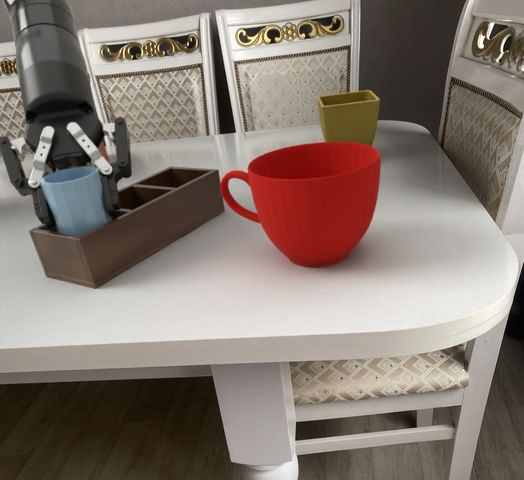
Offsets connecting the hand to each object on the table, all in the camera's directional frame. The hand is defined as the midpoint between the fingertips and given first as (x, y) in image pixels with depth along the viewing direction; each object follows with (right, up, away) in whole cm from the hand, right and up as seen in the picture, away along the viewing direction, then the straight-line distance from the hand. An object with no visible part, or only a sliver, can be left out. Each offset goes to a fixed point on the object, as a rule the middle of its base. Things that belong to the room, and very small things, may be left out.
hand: (80, 218), depth 56 cm
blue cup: (0, -3, +4) cm, 5 cm away
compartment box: (+4, 0, +10) cm, 11 cm away
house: (-16, +20, +44) cm, 50 cm away
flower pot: (+34, +18, +31) cm, 49 cm away
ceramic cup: (+24, -4, +2) cm, 24 cm away
